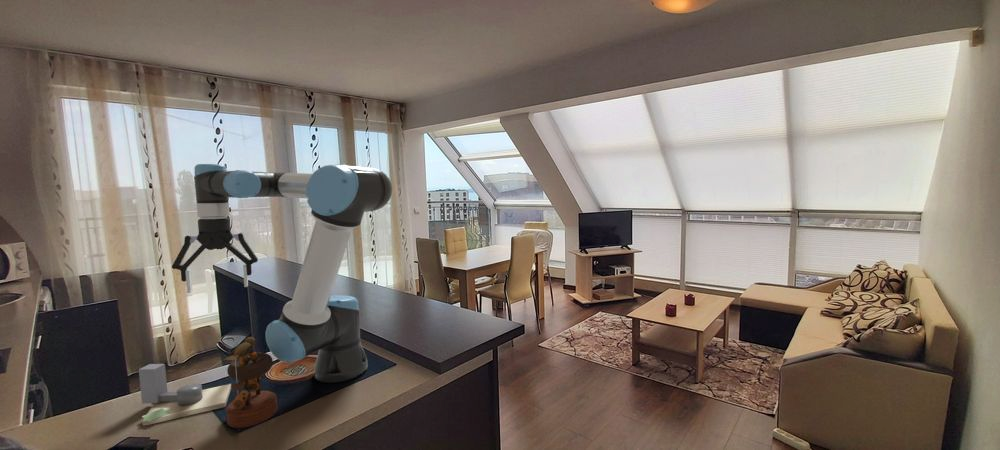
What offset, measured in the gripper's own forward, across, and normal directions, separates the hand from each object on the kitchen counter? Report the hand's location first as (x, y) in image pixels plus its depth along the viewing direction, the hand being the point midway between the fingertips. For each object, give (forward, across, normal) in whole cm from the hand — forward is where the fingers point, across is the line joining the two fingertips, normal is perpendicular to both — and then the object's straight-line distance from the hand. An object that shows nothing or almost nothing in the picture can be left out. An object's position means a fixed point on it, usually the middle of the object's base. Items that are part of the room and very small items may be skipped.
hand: (218, 289), depth 113 cm
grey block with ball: (+25, +9, +14) cm, 30 cm away
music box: (+26, -9, +29) cm, 40 cm away
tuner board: (+26, +5, +16) cm, 31 cm away
